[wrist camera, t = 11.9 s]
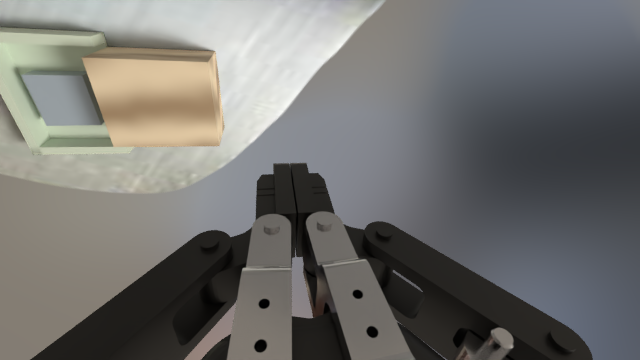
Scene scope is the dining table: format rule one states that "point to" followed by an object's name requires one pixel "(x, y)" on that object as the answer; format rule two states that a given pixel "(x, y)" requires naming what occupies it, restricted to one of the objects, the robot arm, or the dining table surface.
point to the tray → (49, 55)
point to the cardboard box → (157, 96)
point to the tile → (64, 97)
